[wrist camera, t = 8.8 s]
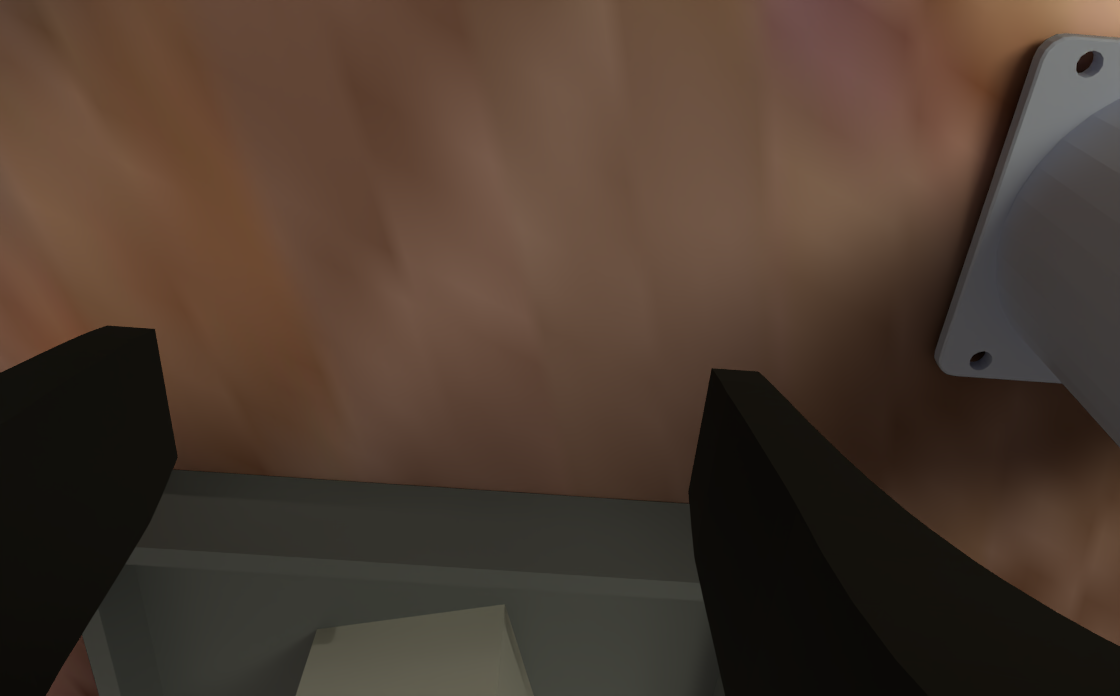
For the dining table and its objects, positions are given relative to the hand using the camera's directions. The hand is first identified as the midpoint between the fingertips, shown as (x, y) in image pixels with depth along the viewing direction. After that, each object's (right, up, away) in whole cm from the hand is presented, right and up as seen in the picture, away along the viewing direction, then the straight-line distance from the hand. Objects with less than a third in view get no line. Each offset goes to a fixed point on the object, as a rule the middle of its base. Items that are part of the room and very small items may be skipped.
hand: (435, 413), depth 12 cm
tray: (-2, -10, +17) cm, 19 cm away
